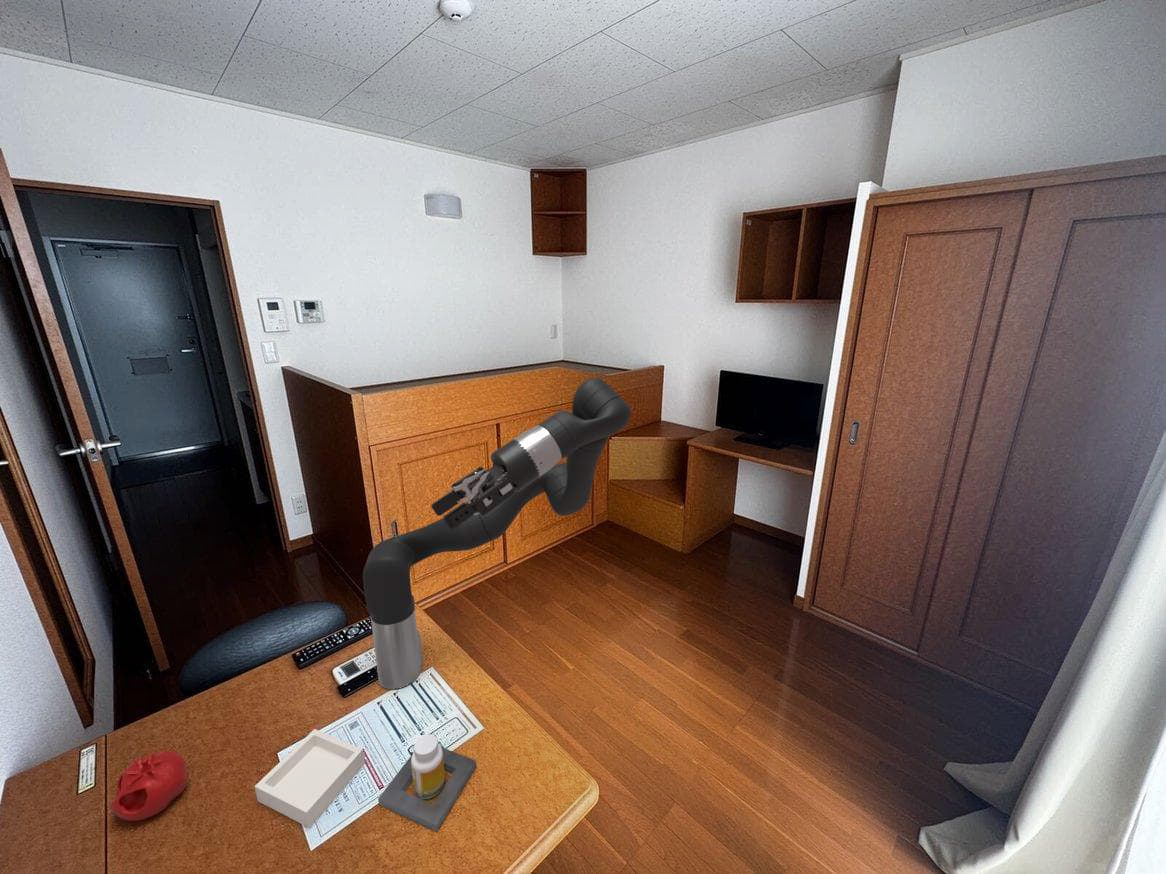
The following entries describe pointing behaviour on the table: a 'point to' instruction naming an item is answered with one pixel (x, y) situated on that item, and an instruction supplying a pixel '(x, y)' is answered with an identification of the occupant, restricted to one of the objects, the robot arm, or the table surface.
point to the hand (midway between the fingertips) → (439, 517)
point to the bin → (310, 777)
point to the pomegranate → (149, 785)
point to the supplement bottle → (427, 767)
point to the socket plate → (420, 808)
